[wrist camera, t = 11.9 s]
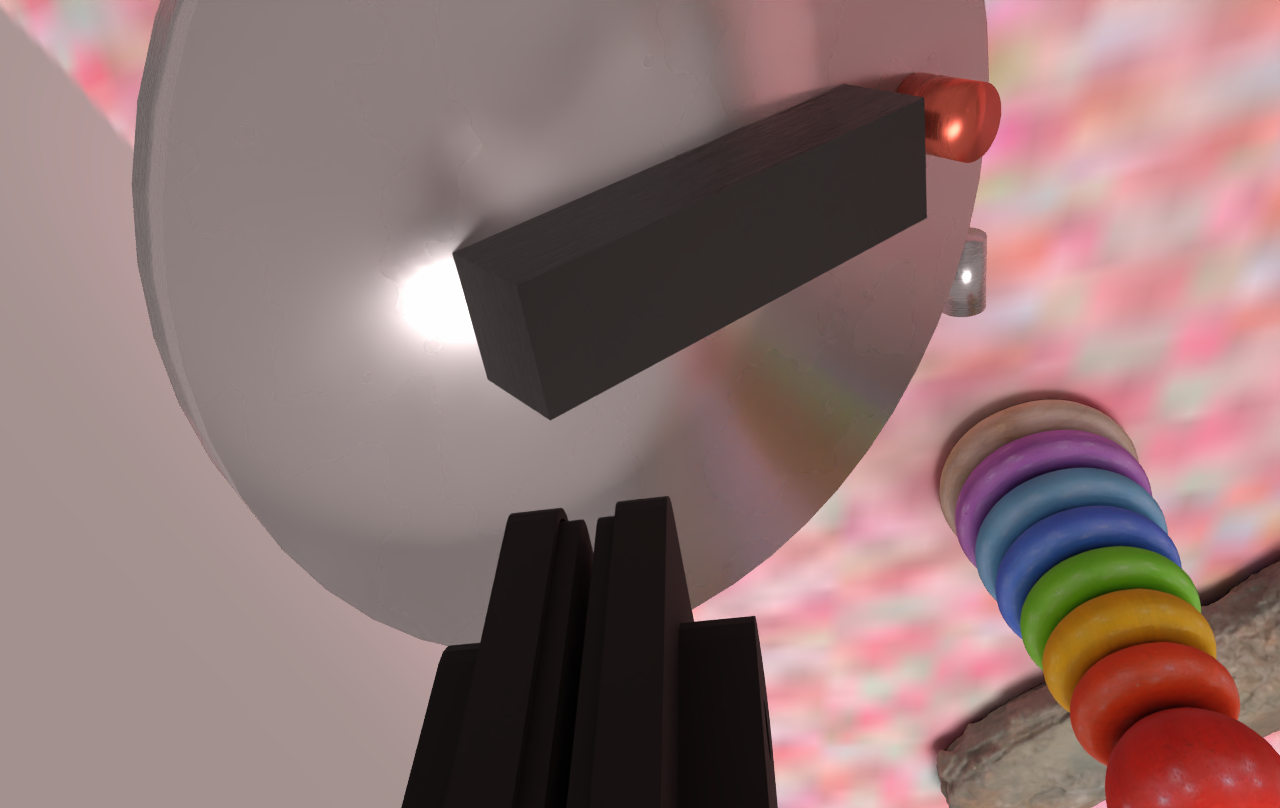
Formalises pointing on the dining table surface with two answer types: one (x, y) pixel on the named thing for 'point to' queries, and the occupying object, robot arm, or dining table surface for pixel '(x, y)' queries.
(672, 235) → the cooker lid
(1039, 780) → the elongated rock
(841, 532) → the dining table surface
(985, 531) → the stacking toy
